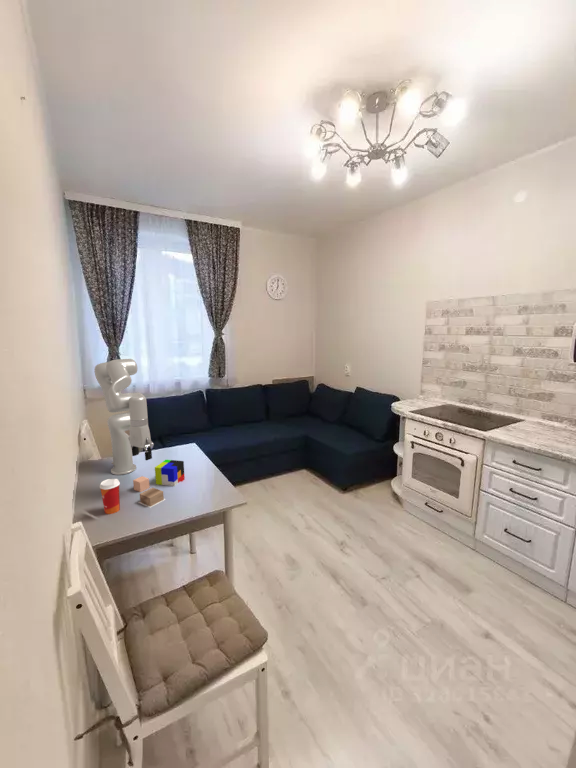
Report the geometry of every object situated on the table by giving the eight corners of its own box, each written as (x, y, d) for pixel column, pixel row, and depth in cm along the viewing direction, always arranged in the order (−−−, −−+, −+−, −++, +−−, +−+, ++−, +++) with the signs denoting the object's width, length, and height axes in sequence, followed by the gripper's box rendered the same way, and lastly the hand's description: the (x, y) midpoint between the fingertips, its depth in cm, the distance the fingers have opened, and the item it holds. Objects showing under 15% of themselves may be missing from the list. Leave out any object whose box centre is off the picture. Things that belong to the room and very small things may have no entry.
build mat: (128, 502, 157) (128, 499, 157) (150, 491, 168) (150, 489, 167) (151, 511, 149) (151, 509, 149) (173, 499, 159) (173, 497, 159)
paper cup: (107, 508, 152) (103, 478, 150) (125, 507, 153) (122, 477, 150) (99, 518, 145) (95, 486, 142) (118, 517, 145) (115, 486, 143)
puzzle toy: (174, 488, 170) (173, 469, 169) (156, 486, 172) (154, 467, 171) (184, 479, 180) (183, 461, 178) (167, 477, 182) (165, 459, 180)
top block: (134, 491, 167) (133, 480, 166) (143, 487, 171) (142, 476, 170) (140, 494, 164) (139, 482, 163) (149, 490, 169) (148, 478, 168)
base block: (140, 502, 155) (139, 493, 154) (153, 495, 161) (152, 487, 160) (150, 506, 152) (149, 498, 151) (163, 499, 157) (163, 491, 157)
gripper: (120, 421, 163) (123, 456, 166) (143, 427, 154) (146, 463, 157) (135, 417, 169) (137, 451, 172) (158, 423, 160) (160, 458, 163)
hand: (142, 457), depth 165 cm, fingers open, 9 cm apart
